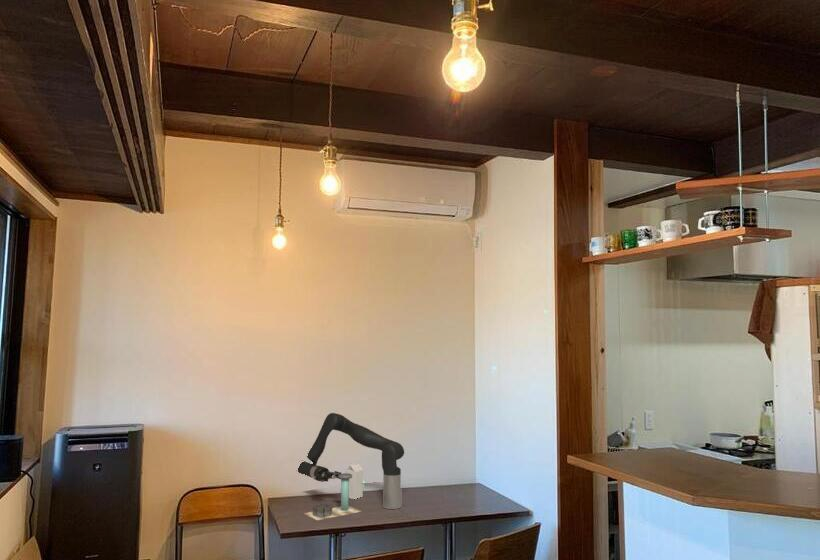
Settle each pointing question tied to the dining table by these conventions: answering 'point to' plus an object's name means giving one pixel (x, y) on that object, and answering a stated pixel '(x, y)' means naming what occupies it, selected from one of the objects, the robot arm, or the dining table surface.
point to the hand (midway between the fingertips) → (334, 478)
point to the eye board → (334, 513)
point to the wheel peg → (345, 490)
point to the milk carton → (355, 481)
